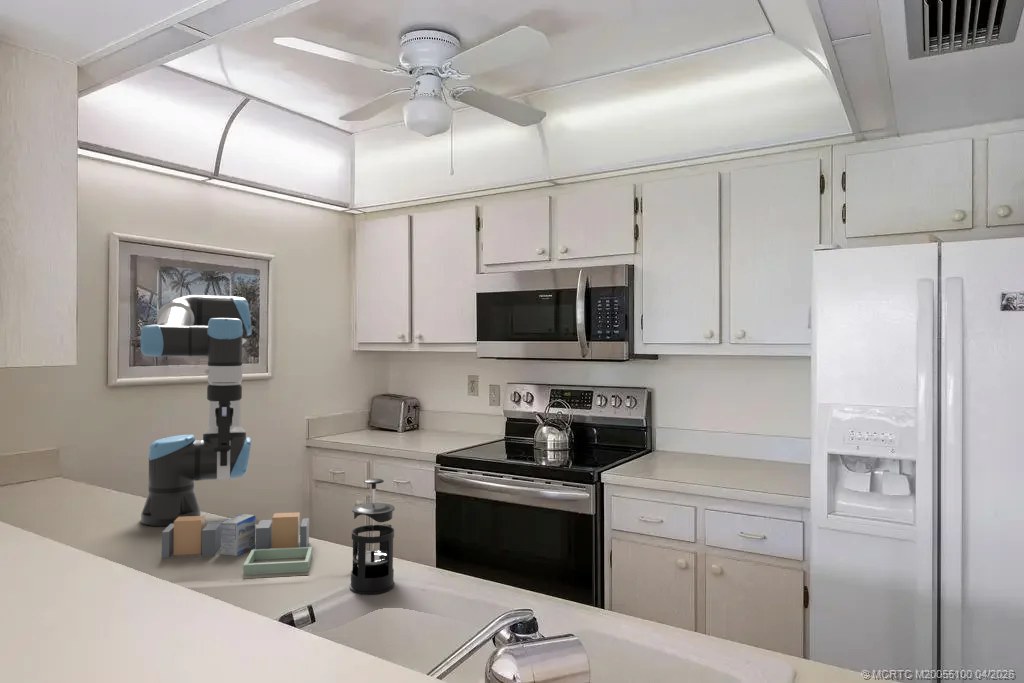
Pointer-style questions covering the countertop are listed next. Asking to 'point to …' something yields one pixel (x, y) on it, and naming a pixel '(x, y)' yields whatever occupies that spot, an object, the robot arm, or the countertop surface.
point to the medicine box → (238, 534)
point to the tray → (277, 566)
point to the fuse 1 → (188, 535)
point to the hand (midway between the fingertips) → (223, 473)
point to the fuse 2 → (285, 530)
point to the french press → (375, 565)
